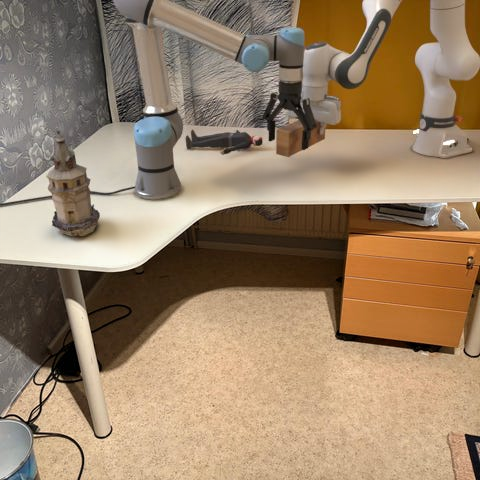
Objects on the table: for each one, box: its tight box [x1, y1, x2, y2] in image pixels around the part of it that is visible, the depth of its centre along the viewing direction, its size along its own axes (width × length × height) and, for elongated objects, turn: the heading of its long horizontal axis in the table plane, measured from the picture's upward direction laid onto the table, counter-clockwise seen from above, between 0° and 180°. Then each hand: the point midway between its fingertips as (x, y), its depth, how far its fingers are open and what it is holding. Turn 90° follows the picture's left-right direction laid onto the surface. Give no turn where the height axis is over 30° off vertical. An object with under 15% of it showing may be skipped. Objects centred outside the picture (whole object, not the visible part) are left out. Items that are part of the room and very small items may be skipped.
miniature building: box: [46, 129, 101, 237], centre depth 148 cm, size 13×14×30 cm
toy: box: [185, 129, 264, 156], centre depth 213 cm, size 26×6×30 cm
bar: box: [275, 119, 326, 158], centre depth 184 cm, size 22×5×8 cm, turn 140°
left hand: (287, 144), depth 180 cm, fingers open, 13 cm apart
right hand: (312, 132), depth 189 cm, fingers closed on bar, 5 cm apart
